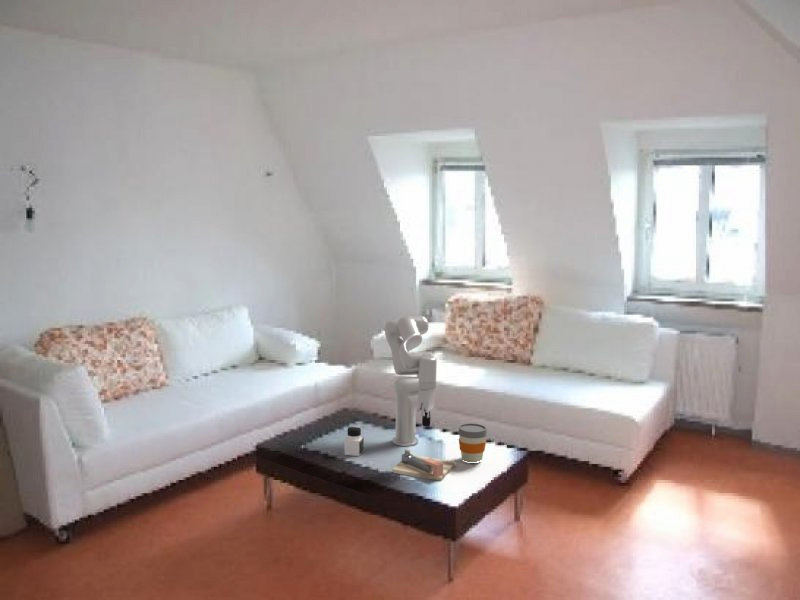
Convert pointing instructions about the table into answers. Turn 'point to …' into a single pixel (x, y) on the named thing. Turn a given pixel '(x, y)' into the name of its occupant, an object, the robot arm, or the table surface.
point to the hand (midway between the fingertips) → (426, 425)
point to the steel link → (416, 462)
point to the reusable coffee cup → (472, 441)
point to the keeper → (435, 466)
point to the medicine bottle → (354, 441)
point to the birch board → (415, 471)
